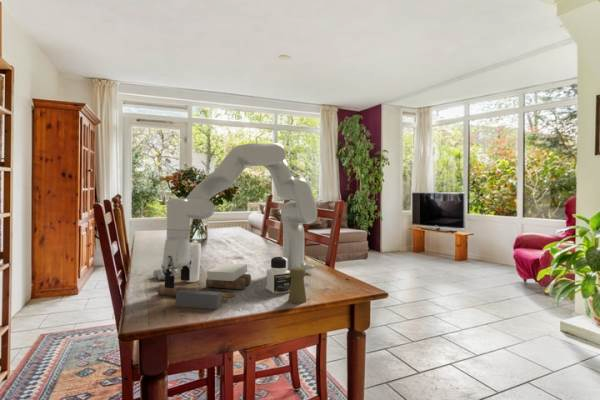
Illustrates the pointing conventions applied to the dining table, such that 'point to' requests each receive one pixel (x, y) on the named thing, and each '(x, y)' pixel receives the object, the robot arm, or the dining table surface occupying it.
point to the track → (230, 284)
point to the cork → (297, 286)
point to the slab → (227, 272)
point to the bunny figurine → (160, 273)
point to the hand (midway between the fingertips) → (177, 283)
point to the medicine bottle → (278, 276)
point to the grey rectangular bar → (199, 299)
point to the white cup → (195, 261)
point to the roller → (174, 289)
